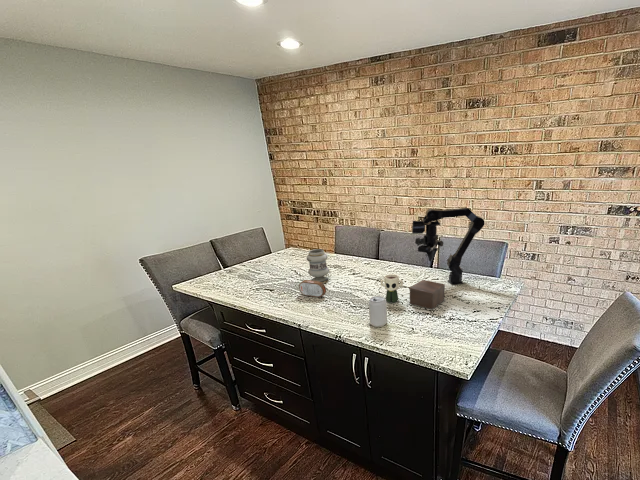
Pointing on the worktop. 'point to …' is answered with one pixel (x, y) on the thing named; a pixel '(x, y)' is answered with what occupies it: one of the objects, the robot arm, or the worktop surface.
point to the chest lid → (427, 287)
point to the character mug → (391, 286)
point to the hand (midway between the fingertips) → (430, 261)
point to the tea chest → (427, 298)
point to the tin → (312, 288)
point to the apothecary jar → (318, 265)
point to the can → (378, 311)
